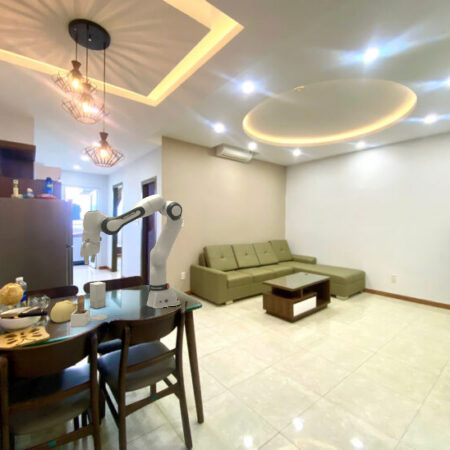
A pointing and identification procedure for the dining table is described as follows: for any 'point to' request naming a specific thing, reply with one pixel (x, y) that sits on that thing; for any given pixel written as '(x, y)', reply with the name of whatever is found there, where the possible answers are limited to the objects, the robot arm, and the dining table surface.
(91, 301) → the skincare box
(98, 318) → the coaster
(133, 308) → the dining table surface
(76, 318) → the pen cup
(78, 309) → the dowel
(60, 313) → the pale yellow rounded lump
